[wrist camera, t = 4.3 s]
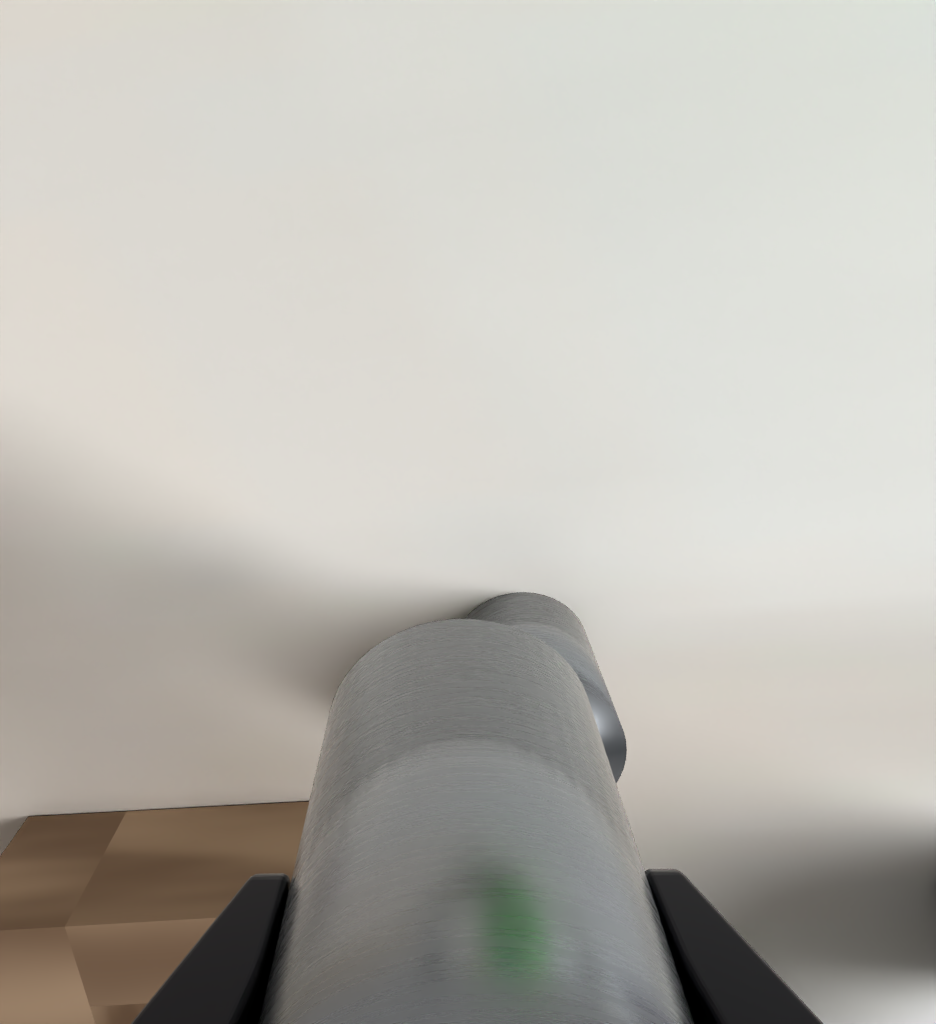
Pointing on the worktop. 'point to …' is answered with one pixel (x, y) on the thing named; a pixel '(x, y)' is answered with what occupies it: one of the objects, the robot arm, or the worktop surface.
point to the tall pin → (468, 850)
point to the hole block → (123, 901)
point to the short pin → (573, 645)
